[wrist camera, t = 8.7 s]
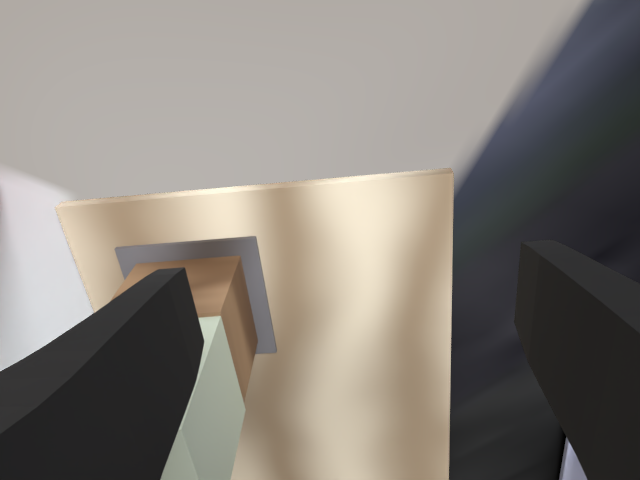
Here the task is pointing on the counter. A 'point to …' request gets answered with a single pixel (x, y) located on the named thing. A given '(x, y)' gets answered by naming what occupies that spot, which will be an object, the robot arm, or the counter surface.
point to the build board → (313, 311)
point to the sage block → (209, 414)
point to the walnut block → (216, 303)
